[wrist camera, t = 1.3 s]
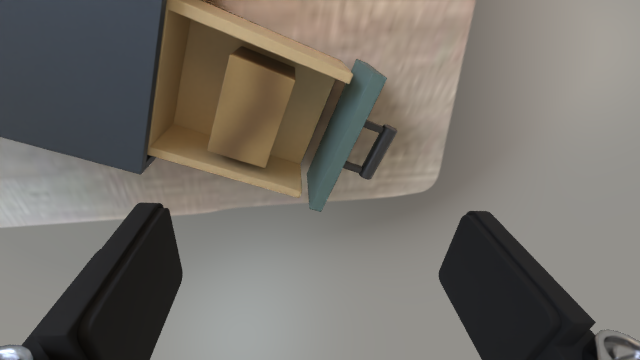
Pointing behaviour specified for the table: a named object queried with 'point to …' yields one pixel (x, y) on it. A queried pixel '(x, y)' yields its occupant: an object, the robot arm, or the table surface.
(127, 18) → the cabinet
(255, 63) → the box
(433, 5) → the table surface
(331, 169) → the drawer
